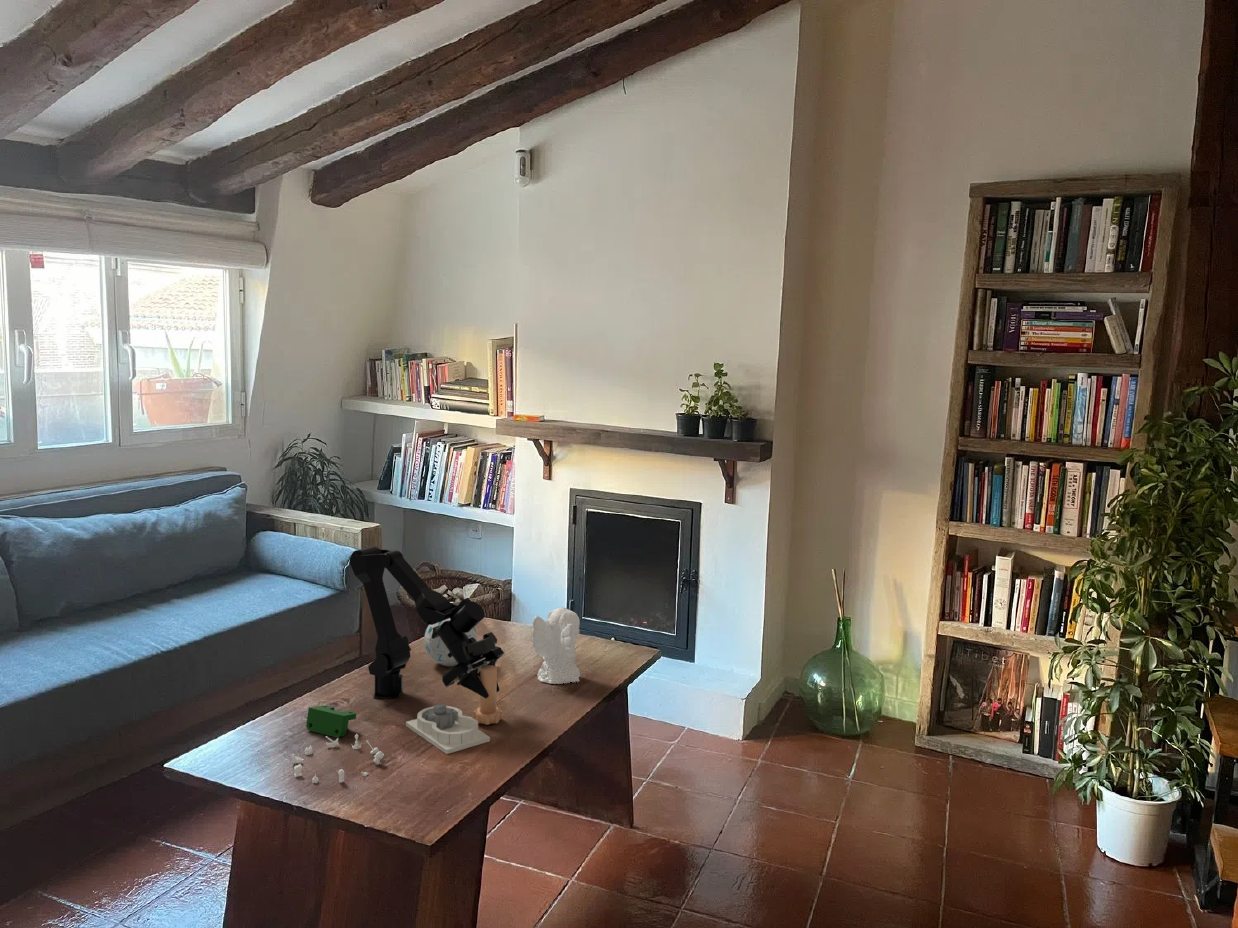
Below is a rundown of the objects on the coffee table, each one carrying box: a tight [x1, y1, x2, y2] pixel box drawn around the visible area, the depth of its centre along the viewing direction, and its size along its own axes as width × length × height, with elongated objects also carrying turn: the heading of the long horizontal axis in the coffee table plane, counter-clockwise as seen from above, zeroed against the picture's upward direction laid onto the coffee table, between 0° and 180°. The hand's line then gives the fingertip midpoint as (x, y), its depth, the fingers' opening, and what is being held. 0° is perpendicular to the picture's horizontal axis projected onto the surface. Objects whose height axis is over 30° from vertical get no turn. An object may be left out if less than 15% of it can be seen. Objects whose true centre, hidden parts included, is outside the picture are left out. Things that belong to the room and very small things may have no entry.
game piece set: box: [289, 733, 385, 784], centre depth 207 cm, size 19×20×4 cm
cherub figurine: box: [531, 606, 581, 685], centre depth 260 cm, size 13×12×20 cm
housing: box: [405, 703, 491, 755], centre depth 224 cm, size 19×12×6 cm, turn 41°
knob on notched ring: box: [473, 665, 503, 726], centre depth 231 cm, size 7×7×13 cm
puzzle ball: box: [423, 618, 478, 667], centre depth 269 cm, size 15×15×15 cm
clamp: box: [305, 705, 357, 738], centre depth 224 cm, size 11×6×8 cm, turn 61°
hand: (492, 694), depth 230 cm, fingers closed on knob on notched ring, 4 cm apart
